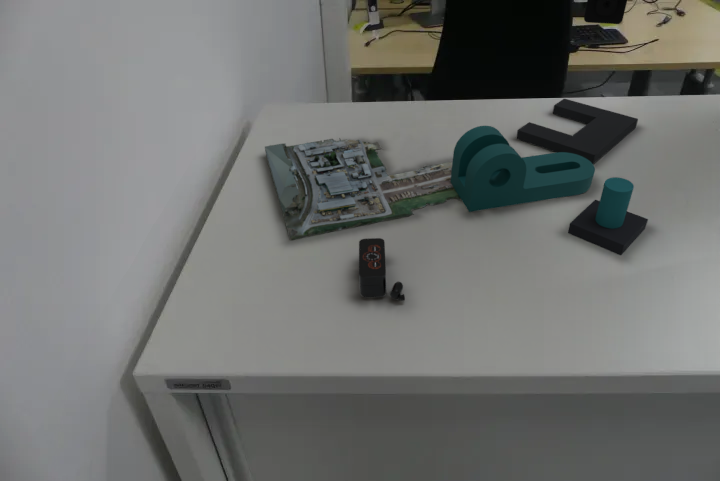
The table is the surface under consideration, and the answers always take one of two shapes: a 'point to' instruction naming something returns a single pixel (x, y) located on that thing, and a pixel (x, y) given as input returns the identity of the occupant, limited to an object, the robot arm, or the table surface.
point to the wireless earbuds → (375, 270)
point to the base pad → (581, 131)
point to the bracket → (512, 172)
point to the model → (348, 186)
